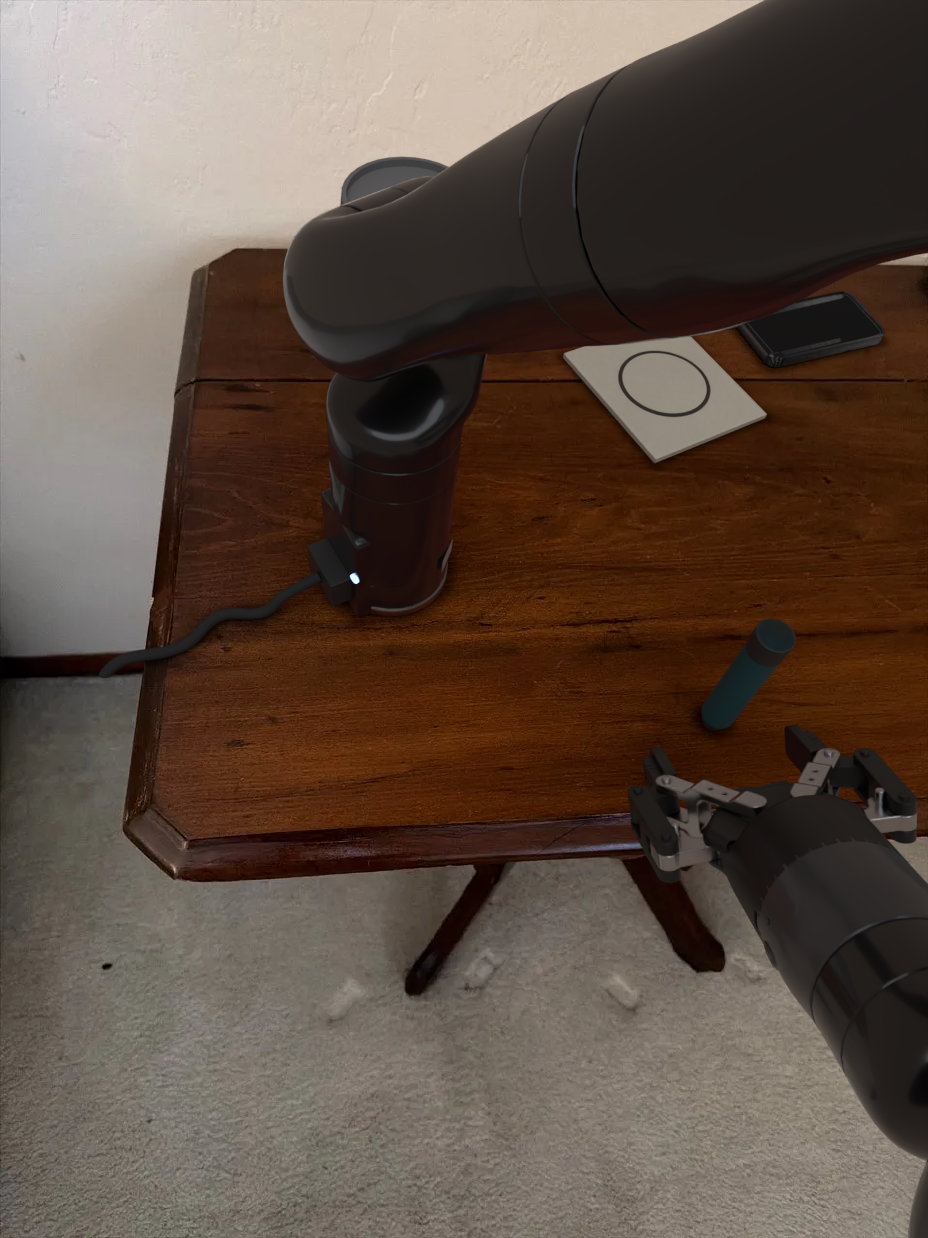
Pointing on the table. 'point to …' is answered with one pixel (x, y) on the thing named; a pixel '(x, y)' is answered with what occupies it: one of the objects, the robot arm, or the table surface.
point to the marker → (748, 672)
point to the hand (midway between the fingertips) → (722, 749)
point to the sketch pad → (665, 393)
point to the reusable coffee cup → (386, 175)
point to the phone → (813, 330)
